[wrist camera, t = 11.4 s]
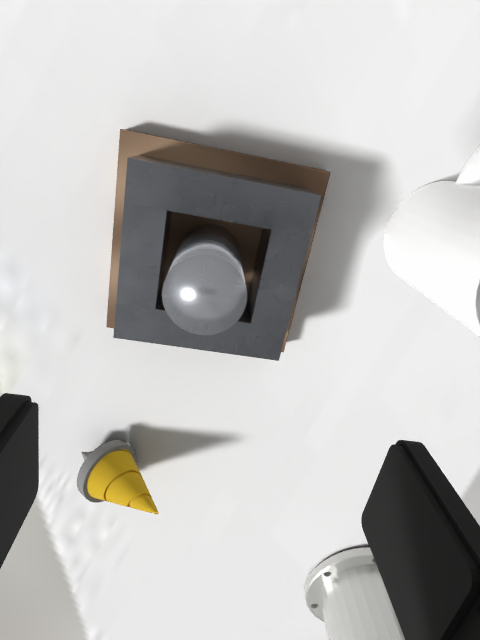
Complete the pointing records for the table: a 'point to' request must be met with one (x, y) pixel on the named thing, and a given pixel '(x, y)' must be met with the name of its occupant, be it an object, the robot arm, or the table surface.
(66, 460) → the table surface
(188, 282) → the steel peg
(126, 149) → the dock board
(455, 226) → the mug
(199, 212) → the socket block
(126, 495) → the drill bit
